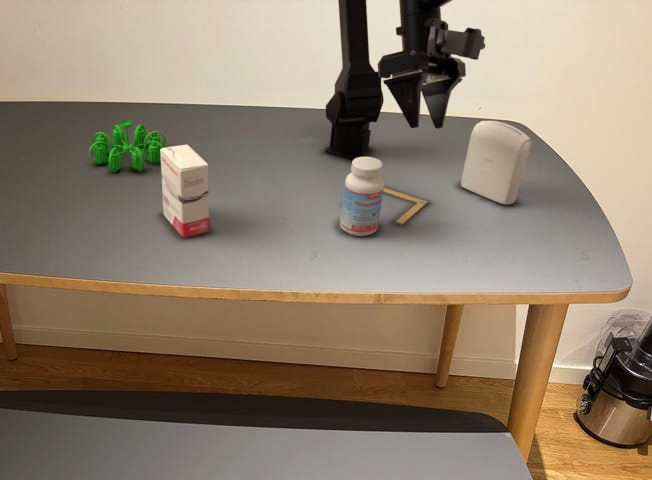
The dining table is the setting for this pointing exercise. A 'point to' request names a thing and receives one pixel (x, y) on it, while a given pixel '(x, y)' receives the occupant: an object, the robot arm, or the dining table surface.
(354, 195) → the pill bottle
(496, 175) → the photo printer
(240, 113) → the dining table surface
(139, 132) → the chandelier
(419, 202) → the tape outline
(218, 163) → the dining table surface
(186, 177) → the ink box
